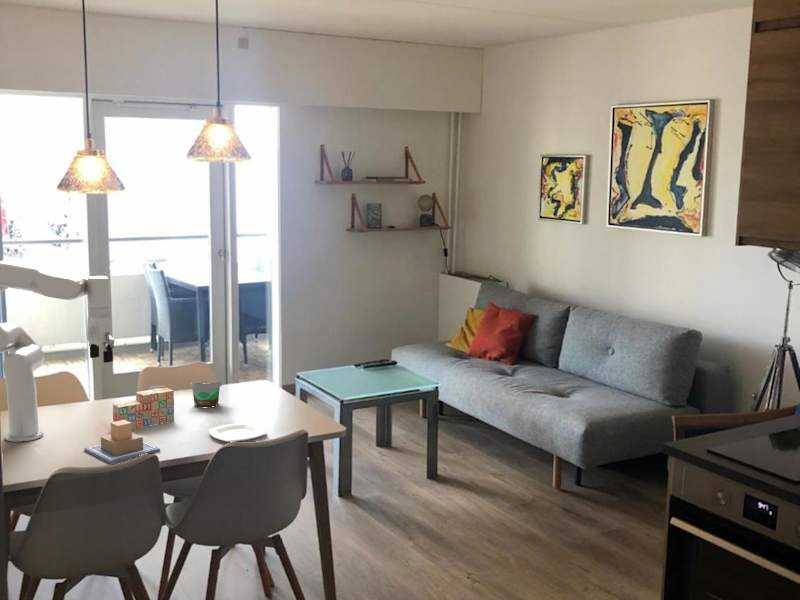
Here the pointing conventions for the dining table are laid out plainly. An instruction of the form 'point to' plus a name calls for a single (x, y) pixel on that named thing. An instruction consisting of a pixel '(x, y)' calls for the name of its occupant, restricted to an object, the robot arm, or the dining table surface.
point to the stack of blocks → (146, 408)
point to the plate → (237, 432)
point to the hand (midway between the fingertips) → (101, 359)
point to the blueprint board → (120, 448)
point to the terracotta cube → (121, 429)
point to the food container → (206, 393)
